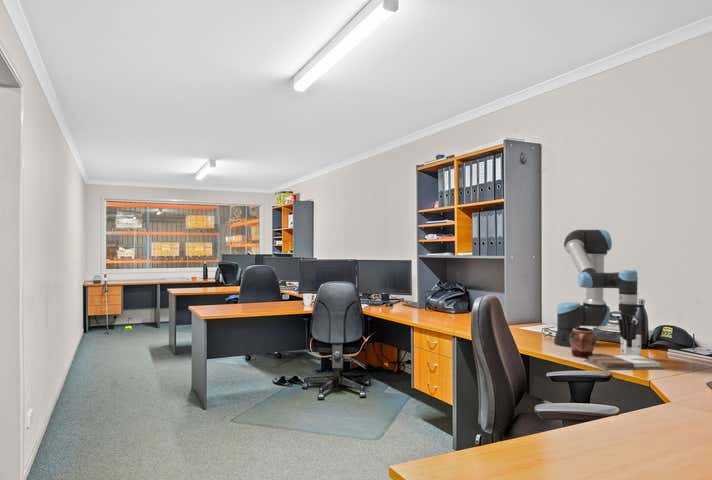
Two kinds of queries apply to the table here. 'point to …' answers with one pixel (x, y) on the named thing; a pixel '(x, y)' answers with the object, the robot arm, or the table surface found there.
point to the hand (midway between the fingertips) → (627, 353)
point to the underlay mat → (623, 368)
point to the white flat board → (639, 360)
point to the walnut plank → (610, 362)
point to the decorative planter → (582, 342)
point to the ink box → (633, 346)
